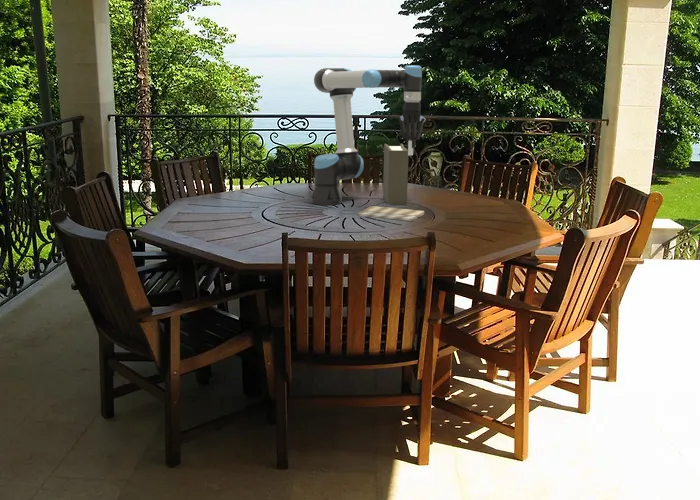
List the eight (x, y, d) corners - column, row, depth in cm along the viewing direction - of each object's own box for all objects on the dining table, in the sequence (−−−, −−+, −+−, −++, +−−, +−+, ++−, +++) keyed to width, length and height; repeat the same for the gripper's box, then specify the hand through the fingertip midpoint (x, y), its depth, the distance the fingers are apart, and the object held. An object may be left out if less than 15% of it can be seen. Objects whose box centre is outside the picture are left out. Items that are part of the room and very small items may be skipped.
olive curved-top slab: (406, 207, 321) (408, 149, 313) (387, 207, 320) (389, 149, 313) (401, 198, 342) (402, 143, 334) (382, 198, 341) (384, 143, 333)
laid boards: (356, 217, 295) (356, 213, 294) (362, 214, 300) (362, 210, 299) (412, 222, 284) (412, 218, 284) (416, 220, 289) (416, 216, 289)
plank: (363, 214, 301) (363, 210, 300) (370, 209, 309) (370, 205, 308) (417, 219, 290) (417, 215, 290) (424, 214, 298) (424, 210, 298)
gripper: (395, 101, 293) (394, 155, 299) (423, 102, 287) (421, 156, 293) (401, 101, 299) (399, 153, 305) (429, 101, 294) (426, 155, 300)
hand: (410, 155), depth 299 cm, fingers closed
